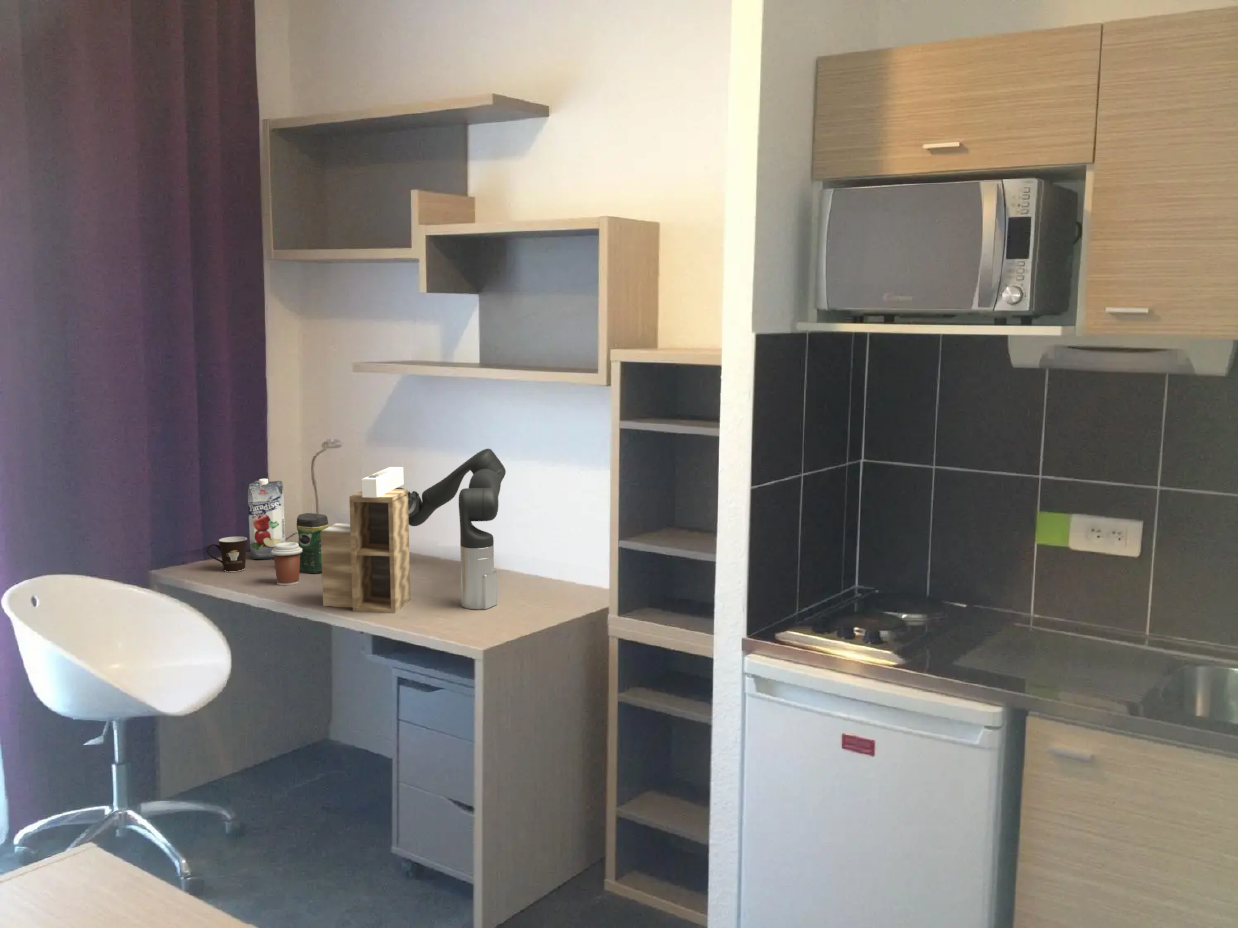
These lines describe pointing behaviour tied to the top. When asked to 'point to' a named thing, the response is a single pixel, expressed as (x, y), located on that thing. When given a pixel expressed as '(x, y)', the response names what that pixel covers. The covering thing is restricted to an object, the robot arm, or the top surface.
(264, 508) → the juice carton
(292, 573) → the coffee cup
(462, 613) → the top surface
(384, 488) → the white long block
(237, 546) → the coffee mug
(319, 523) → the coffee jar
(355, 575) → the step shelf
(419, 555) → the top surface
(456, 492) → the robot arm
